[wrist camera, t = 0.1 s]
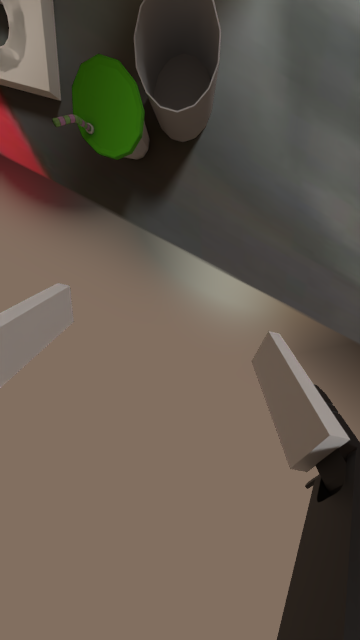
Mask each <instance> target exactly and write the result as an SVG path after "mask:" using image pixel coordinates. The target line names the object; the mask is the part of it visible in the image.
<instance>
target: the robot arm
mask: <svg viewBox="0 0 360 640" xmlns="http://www.w3.org/2000/svg"><path fill="white" fill-rule="evenodd" d="M73 322H74V321H73V311H72V301H71V290H70V286H69V285H65V284H61V283H57V284H55V285H53V286H51V287H49V288H47V289H45V290H43V291H41V292H40V293H38V294H36V295H34V296H32V297H30V298H28V299H26V300H24V301H22V302H20V303H19V304H17V305H15V306H13V307H11V308H9V309H7V310H5V311H3V312H1V313H0V388H1V387H2V386H3V385H4V384H5V383H6V382H7V381H8V380H10V379H11V378H12V377H13V376H14V375H15V374H16V373H17V372H19V370H21V369H22V368H23V367H24V366H25V365H26V364H27V363H29V362H30V361H31V360H32V359H33V358H34V357H35V356H36V355H37V354H38V353H39V352H41V351H42V350H43V349H44V348H45V347H46V346H47V345H48V344H50V343H51V342H52V341H53V340H54V339H55V338H56V337H57V336H58V335H60V334H61V333H62V332H63V331H64V330H65V329H66V328H67V327H68V326H69V325H71V324H72V323H73ZM252 363H253V367H254V369H255V372H256V375H257V378H258V381H259V383H260V386H261V389H262V392H263V394H264V397H265V400H266V403H267V406H268V408H269V411H270V414H271V417H272V419H273V422H274V425H275V428H276V431H277V433H278V436H279V439H280V442H281V444H282V447H283V450H284V453H285V456H286V458H287V461H288V464H289V467H290V469H295V470H300V471H305V472H308V471H309V470H310V469H312V468H313V467H314V466H316V467H317V469H318V472H319V475H318V476H316V477H315V478H313V479H312V480H311V481H309V482H308V483H307V484H306V486H305V487H306V488H307V489H308V488H310V487H311V486H313V490H312V494H311V499H310V503H309V507H308V511H307V516H306V520H305V524H304V528H303V532H302V537H301V540H300V545H299V549H298V553H297V557H296V562H295V566H294V570H293V574H292V578H291V582H290V587H289V591H288V595H287V599H286V603H285V607H284V612H283V616H282V620H281V624H280V628H279V633H278V637H277V640H360V442H359V441H358V439H357V438H356V436H355V435H354V434H353V432H352V431H351V429H350V428H349V427H348V425H347V424H346V422H345V421H344V419H343V418H342V416H341V415H340V414H338V411H337V409H336V408H335V406H333V405H332V402H331V401H330V399H329V398H328V397H327V395H326V394H325V393H324V392H323V391H322V390H321V389H320V388H319V387H318V386H317V385H314V384H313V383H312V382H311V380H310V379H309V377H308V376H307V375H306V373H305V371H304V370H303V368H302V367H301V365H300V364H299V362H298V361H297V359H296V358H295V356H294V355H293V353H292V352H291V350H290V349H289V347H288V346H287V344H286V343H285V341H284V340H283V338H282V337H281V335H280V334H279V333H274V332H270V331H269V332H268V333H267V335H266V337H265V338H264V340H263V342H262V344H261V345H260V347H259V349H258V351H257V353H256V354H255V356H254V358H253V360H252Z"/></svg>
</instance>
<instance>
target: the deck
mask: <svg viewBox="0 0 360 640" xmlns="http://www.w3.org/2000/svg"><path fill="white" fill-rule="evenodd" d="M0 4H2V5H3V6H4V8H5V11H6V13H7V16H8V23H9V36H8V39H7V41H6V43H5V45H3V46H0V85H3V86H7V87H11V88H14V89H18V90H22V91H26V92H29V93H33V94H37V95H41V96H44V97H48V98H52V99H56V100H59V101H61V92H60V80H59V67H58V55H57V42H56V30H55V17H54V5H53V0H0Z"/></svg>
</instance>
